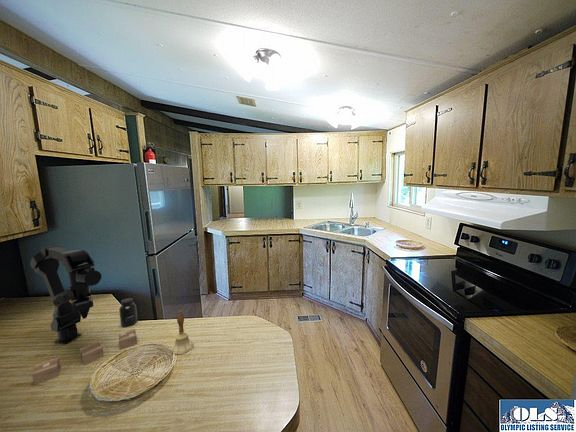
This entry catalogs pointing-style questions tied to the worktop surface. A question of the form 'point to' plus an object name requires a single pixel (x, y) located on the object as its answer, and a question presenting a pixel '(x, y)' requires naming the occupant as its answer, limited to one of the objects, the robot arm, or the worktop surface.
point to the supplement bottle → (128, 312)
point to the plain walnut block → (91, 352)
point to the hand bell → (182, 337)
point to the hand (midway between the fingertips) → (84, 318)
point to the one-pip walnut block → (46, 370)
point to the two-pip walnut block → (127, 339)
